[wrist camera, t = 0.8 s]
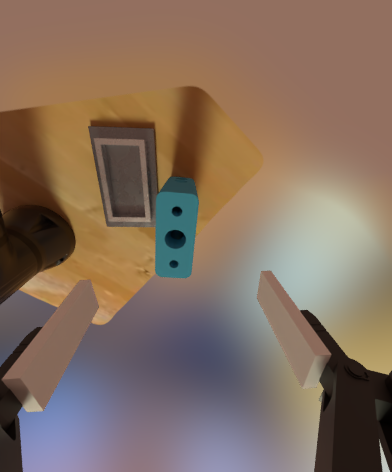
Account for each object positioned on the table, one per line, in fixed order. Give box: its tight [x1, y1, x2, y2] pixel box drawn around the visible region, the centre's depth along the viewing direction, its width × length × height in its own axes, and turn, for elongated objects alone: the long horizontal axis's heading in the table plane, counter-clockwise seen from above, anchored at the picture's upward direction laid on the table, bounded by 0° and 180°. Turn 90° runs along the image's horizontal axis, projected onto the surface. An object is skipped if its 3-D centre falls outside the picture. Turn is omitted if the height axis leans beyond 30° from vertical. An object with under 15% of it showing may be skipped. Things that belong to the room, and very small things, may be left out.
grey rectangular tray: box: [88, 126, 158, 227], centre depth 38 cm, size 12×20×3 cm, turn 178°
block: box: [155, 177, 199, 278], centre depth 33 cm, size 12×5×20 cm, turn 174°
